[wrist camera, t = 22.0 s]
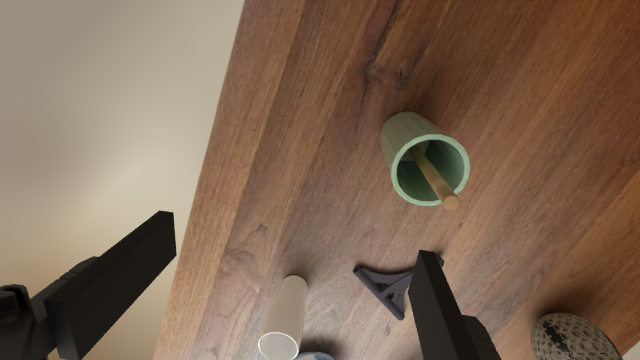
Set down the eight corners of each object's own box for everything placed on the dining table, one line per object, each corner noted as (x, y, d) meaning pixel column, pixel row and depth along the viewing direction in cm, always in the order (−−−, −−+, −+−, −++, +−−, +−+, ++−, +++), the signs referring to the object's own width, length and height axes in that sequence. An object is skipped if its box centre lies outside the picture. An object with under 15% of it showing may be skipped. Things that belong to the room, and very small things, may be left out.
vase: (369, 132, 50) (376, 163, 34) (414, 100, 47) (445, 118, 32) (397, 171, 52) (416, 218, 36) (442, 143, 49) (484, 180, 33)
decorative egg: (540, 353, 62) (594, 436, 48) (504, 319, 60) (550, 396, 46) (596, 324, 58) (673, 405, 44) (560, 287, 56) (628, 360, 42)
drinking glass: (276, 294, 64) (255, 358, 50) (280, 267, 61) (259, 327, 47) (308, 300, 63) (296, 367, 49) (313, 274, 61) (302, 336, 47)
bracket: (461, 280, 58) (466, 290, 55) (397, 315, 62) (399, 326, 60) (416, 227, 55) (419, 235, 52) (352, 268, 60) (352, 277, 57)
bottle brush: (391, 137, 49) (423, 198, 26) (410, 124, 48) (460, 177, 25) (403, 154, 50) (444, 226, 27) (421, 142, 49) (479, 207, 26)
